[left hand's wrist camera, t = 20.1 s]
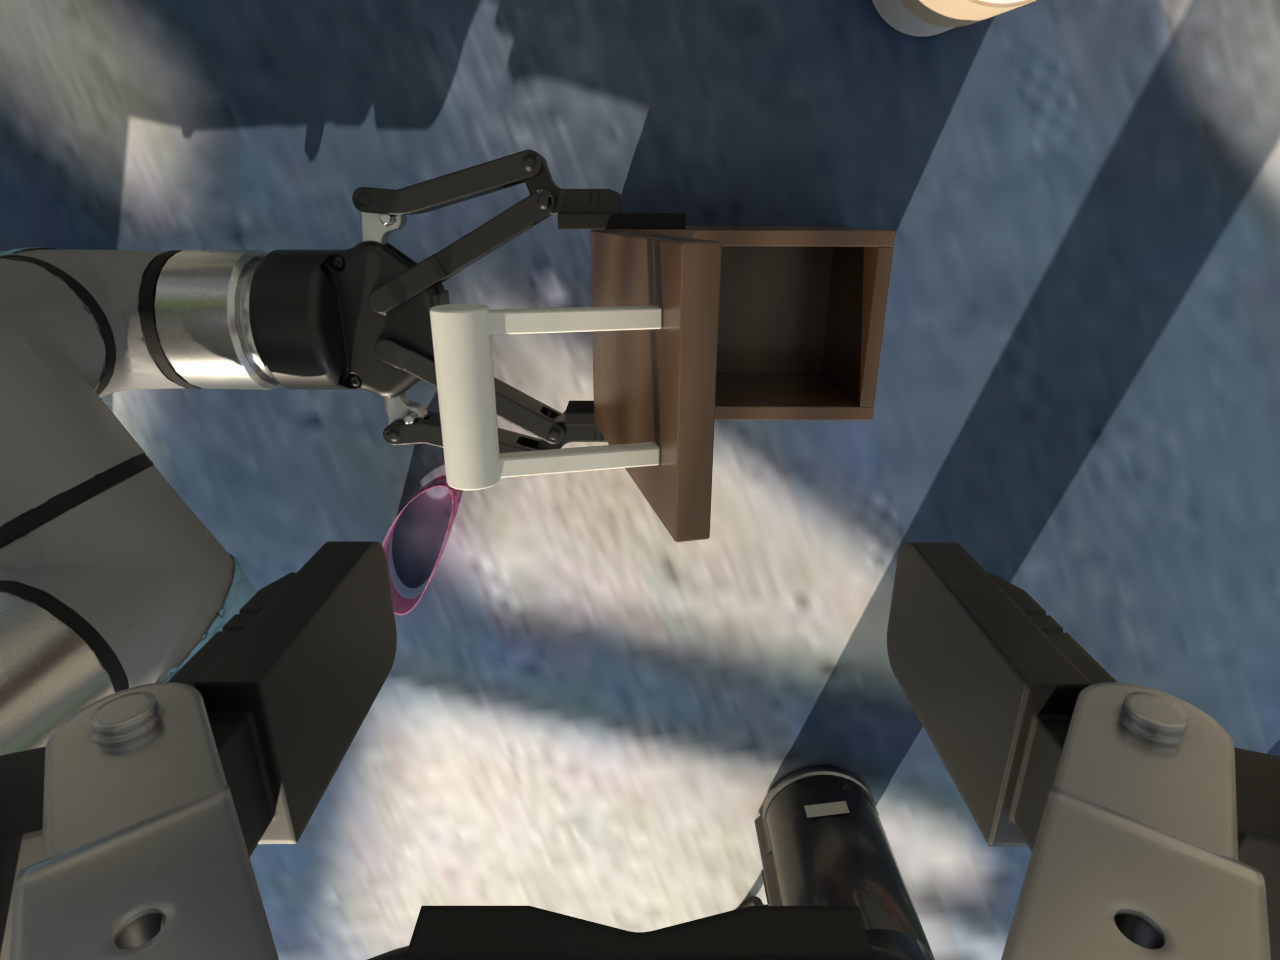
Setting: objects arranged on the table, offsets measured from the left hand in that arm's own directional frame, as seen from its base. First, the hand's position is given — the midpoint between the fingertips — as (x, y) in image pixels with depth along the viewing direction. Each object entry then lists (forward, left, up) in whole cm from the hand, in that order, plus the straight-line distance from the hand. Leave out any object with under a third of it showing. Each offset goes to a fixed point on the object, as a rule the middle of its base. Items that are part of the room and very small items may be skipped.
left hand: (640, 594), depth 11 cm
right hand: (+2, -2, -30) cm, 30 cm away
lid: (0, -1, -20) cm, 20 cm away
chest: (+4, -4, -37) cm, 37 cm away
